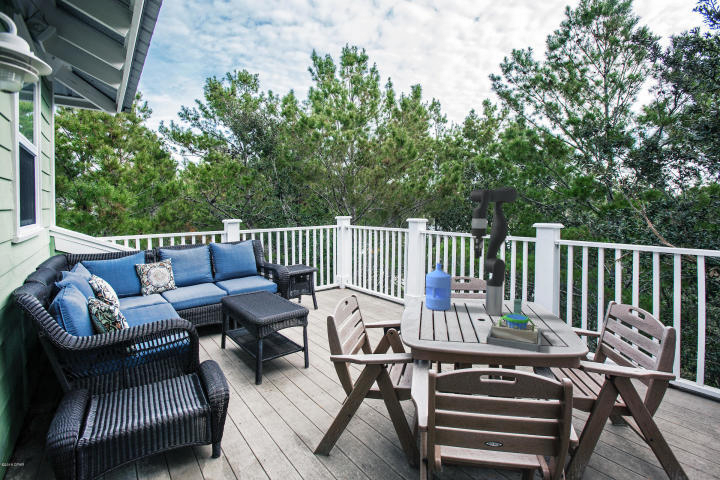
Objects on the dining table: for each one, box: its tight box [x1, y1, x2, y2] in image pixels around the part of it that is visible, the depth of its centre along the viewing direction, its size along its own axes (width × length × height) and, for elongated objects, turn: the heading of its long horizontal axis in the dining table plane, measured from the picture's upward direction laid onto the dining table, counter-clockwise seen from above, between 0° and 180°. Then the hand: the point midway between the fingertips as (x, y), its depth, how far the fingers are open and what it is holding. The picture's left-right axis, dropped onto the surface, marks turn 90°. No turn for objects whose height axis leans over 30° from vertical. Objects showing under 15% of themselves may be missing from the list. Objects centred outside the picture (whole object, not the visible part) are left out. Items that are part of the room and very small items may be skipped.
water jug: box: [425, 262, 452, 312], centre depth 228 cm, size 16×16×28 cm
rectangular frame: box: [486, 321, 542, 353], centre depth 174 cm, size 26×22×3 cm
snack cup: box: [498, 313, 535, 331], centre depth 176 cm, size 16×10×10 cm
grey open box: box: [491, 298, 539, 344], centre depth 181 cm, size 23×20×14 cm
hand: (478, 257), depth 194 cm, fingers open, 8 cm apart
